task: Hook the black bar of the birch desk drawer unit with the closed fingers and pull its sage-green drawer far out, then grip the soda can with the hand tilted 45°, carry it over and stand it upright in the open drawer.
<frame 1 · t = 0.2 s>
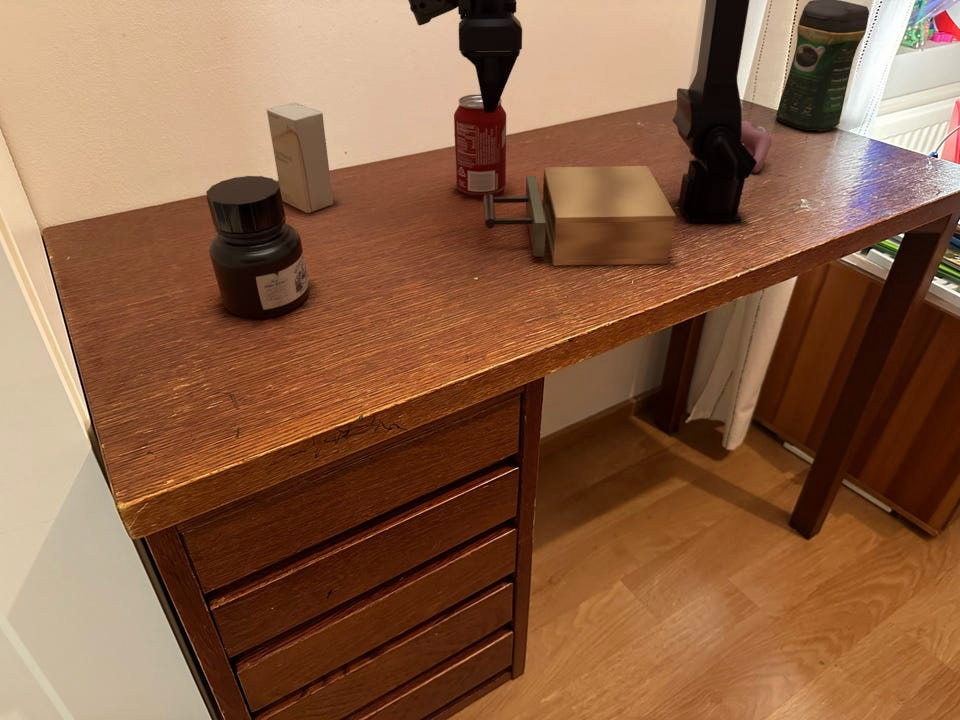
hand: (488, 100, 79), 15 cm above the table, tool pointing down, fingers open, 9 cm apart
cosmetic box: (309, 204, 92), on the table
soda can: (480, 191, 95), on the table
video game controller: (729, 164, 102), on the table
coffee jar: (805, 124, 116), on the table
ink bottle: (267, 299, 73), on the table
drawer: (557, 213, 82), point 3 cm above the table, slide at 1.0 cm
drawer unit: (600, 235, 83), on the table
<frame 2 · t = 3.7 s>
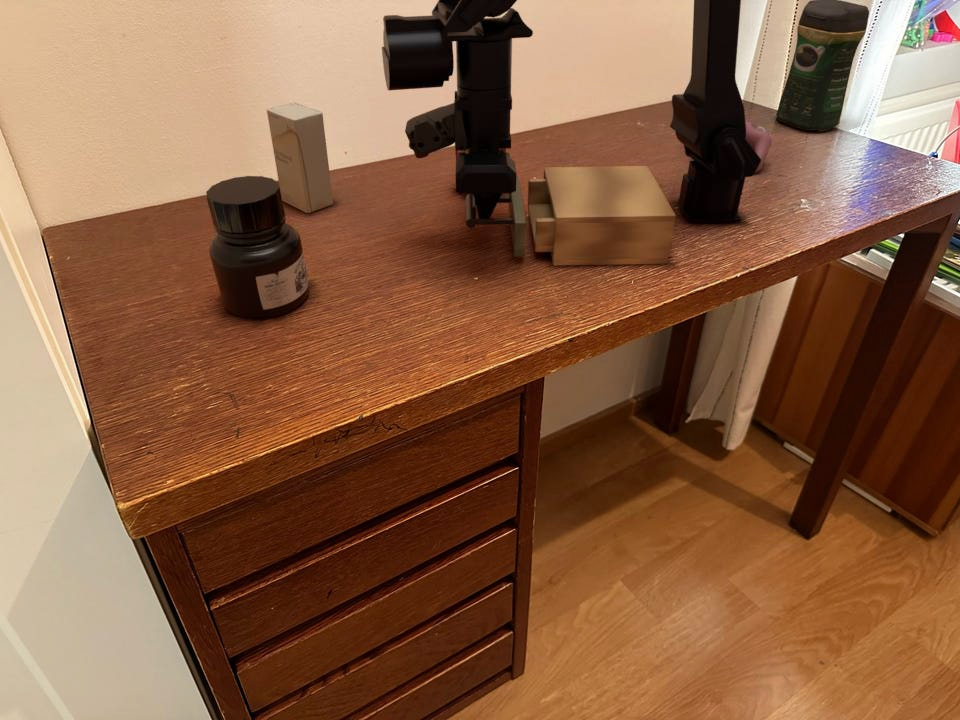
hand: (484, 220, 82), 2 cm above the table, tool pointing down, fingers closed, pressing on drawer
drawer: (538, 214, 82), point 3 cm above the table, slide at 3.2 cm, touching gripper
everything else where it was.
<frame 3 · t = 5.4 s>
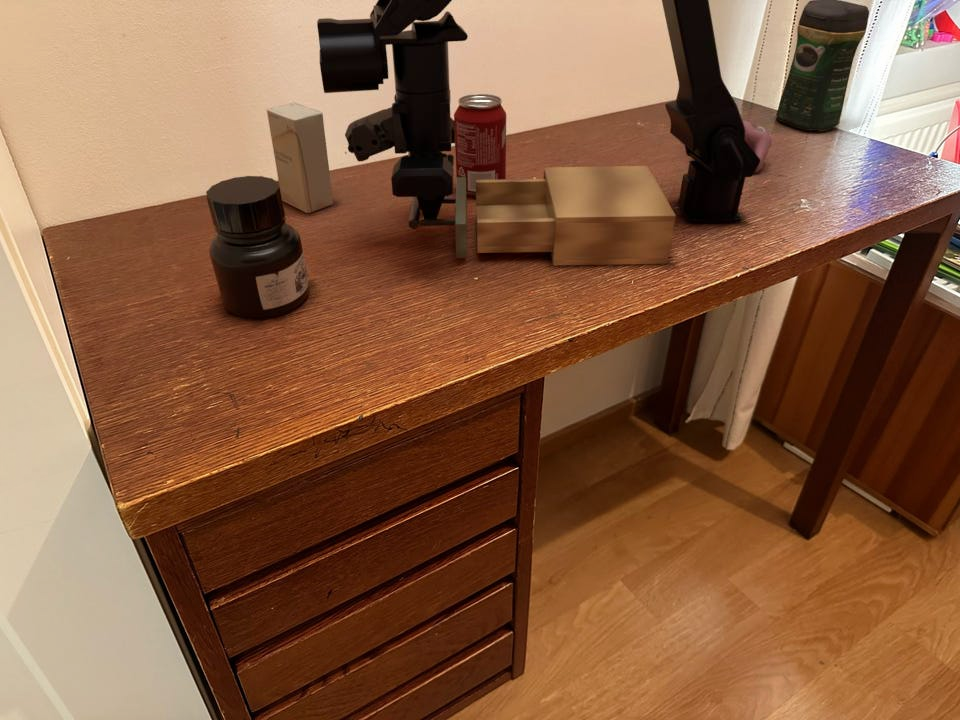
hand: (430, 222, 82), 2 cm above the table, tool pointing down, fingers closed, pressing on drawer
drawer: (483, 215, 82), point 3 cm above the table, slide at 9.7 cm, touching gripper
everything else where it was.
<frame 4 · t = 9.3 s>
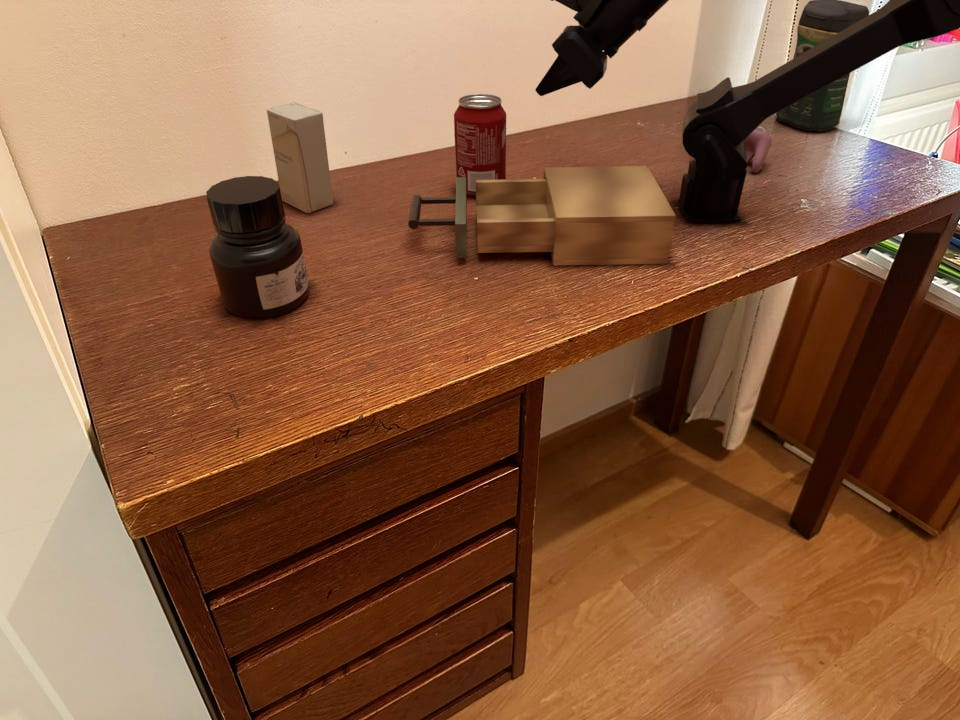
hand: (538, 92, 85), 13 cm above the table, tool tilted 45°, fingers closed
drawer: (483, 215, 82), point 3 cm above the table, slide at 9.7 cm
everything else where it was.
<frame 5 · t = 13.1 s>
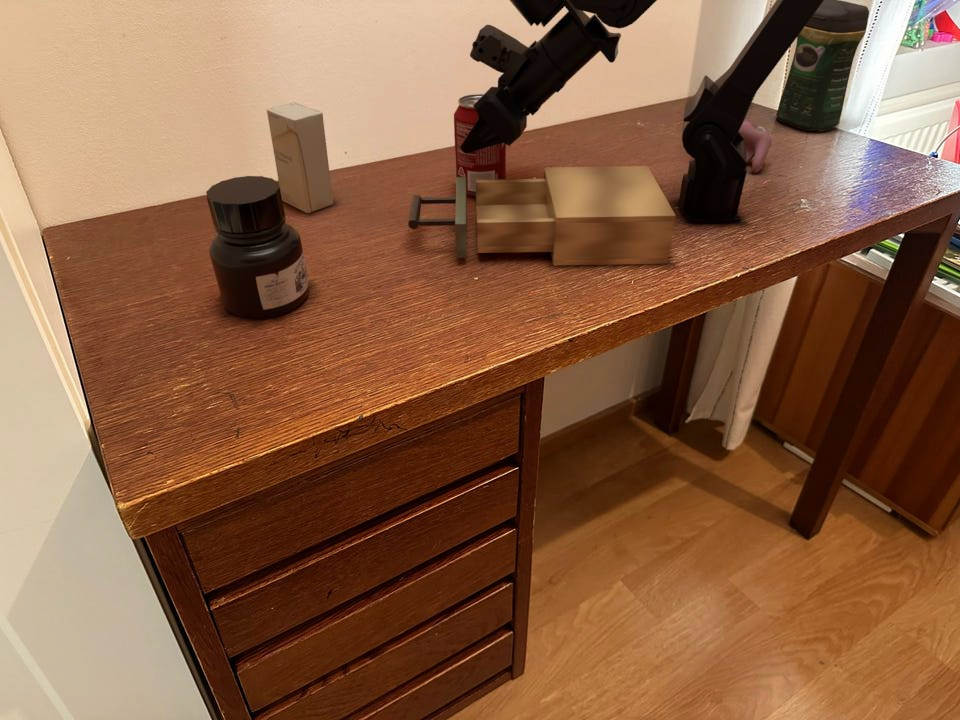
hand: (470, 141, 91), 7 cm above the table, tool tilted 45°, fingers closed on soda can, 7 cm apart
soda can: (480, 191, 95), on the table, touching gripper
everything else where it was.
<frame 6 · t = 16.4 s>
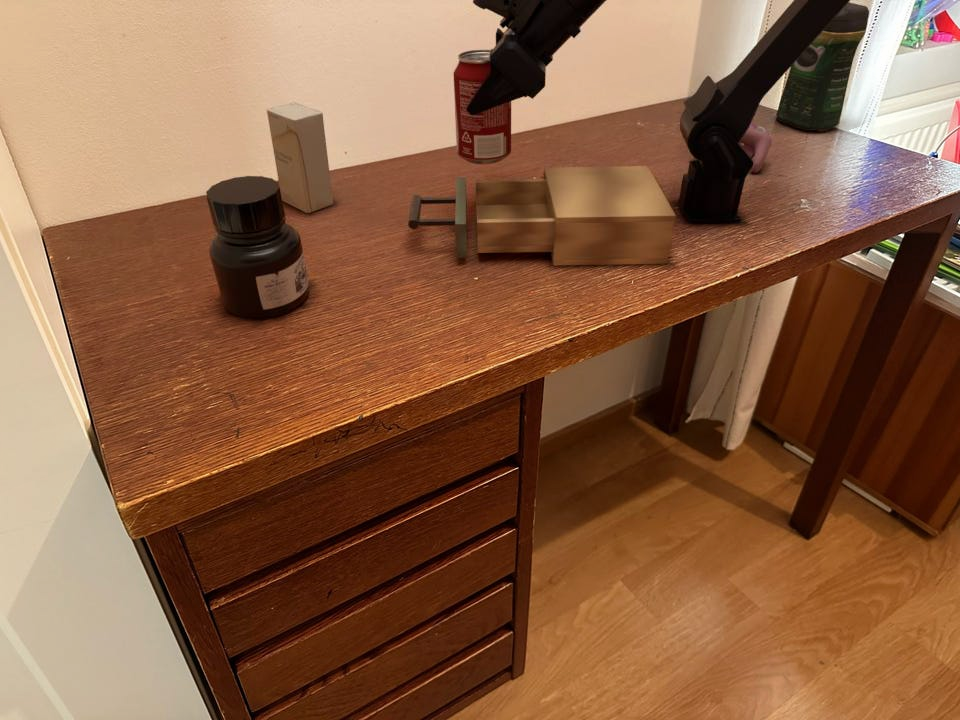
hand: (471, 103, 83), 13 cm above the table, tool tilted 45°, fingers closed on soda can, 7 cm apart
soda can: (484, 158, 87), point 6 cm above the table, touching gripper
everything else where it was.
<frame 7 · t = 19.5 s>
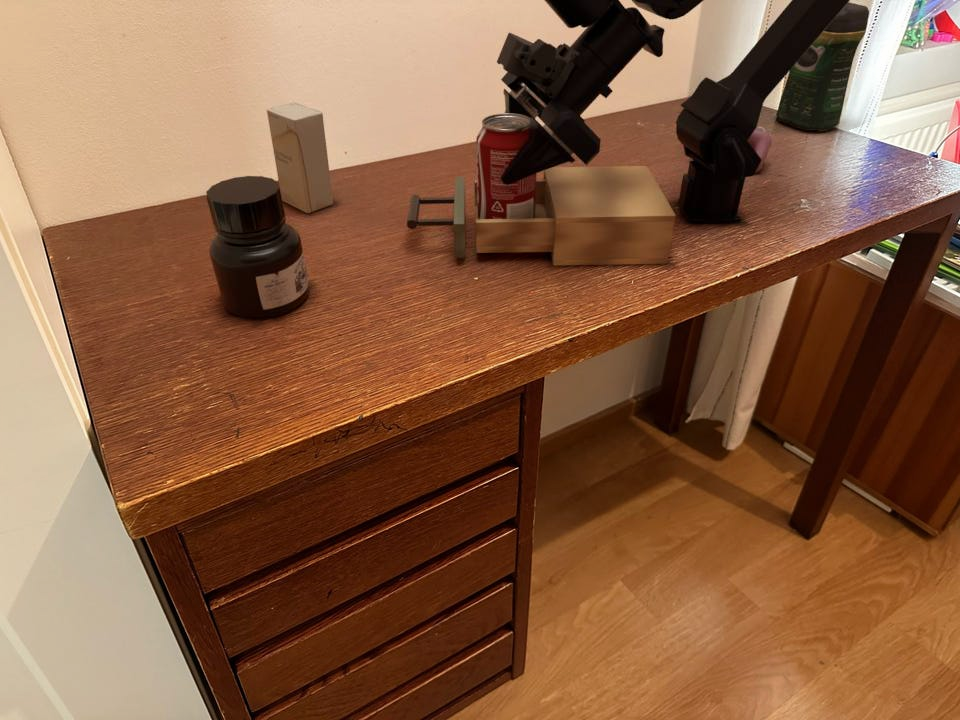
hand: (495, 170, 78), 9 cm above the table, tool tilted 45°, fingers closed on soda can, 7 cm apart
soda can: (506, 224, 82), point 2 cm above the table, touching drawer, gripper
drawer: (482, 215, 82), point 3 cm above the table, slide at 9.9 cm, touching soda can
everything else where it was.
when the fingers open (9 cm above the table, at t = 19.8 s): soda can stays where it is, resting on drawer.
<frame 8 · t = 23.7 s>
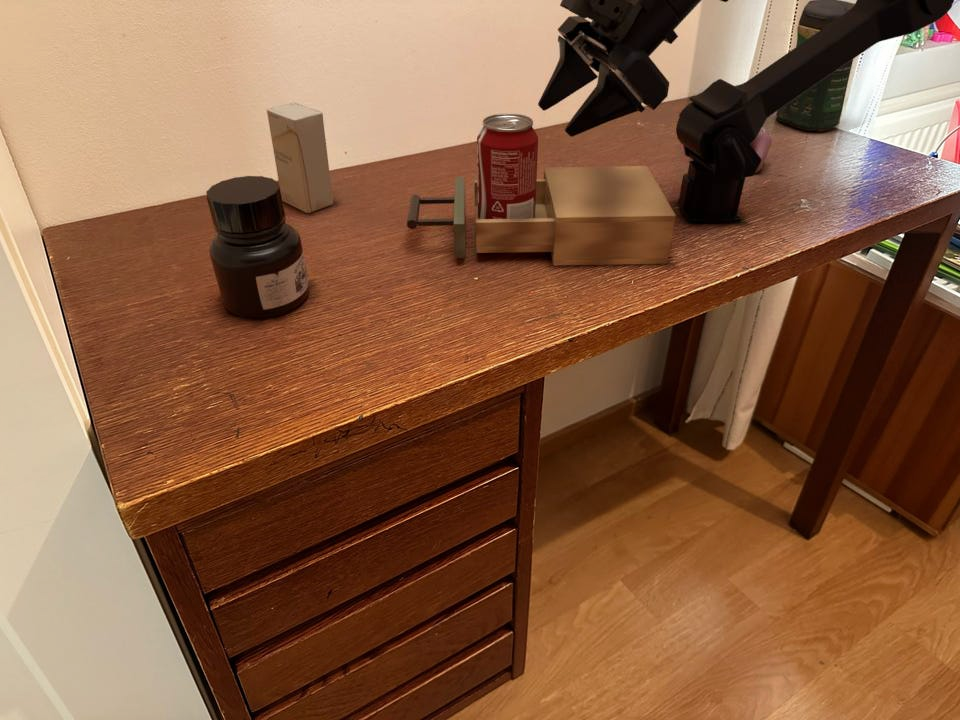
hand: (553, 120, 76), 14 cm above the table, tool tilted 45°, fingers open, 9 cm apart
soda can: (506, 224, 82), point 2 cm above the table, touching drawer
everything else where it was.
at the end: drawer slide at 9.9 cm; soda can inside the target area in the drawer (0.6 cm from its centre), point 1.7 cm above the drawer unit's base; soda can tilted 0° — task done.
